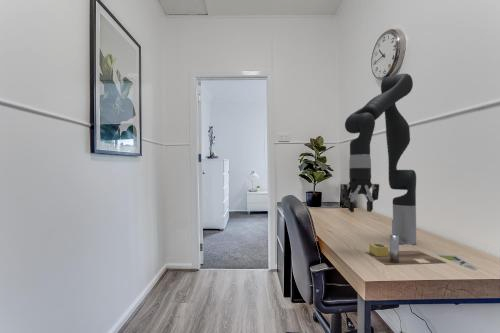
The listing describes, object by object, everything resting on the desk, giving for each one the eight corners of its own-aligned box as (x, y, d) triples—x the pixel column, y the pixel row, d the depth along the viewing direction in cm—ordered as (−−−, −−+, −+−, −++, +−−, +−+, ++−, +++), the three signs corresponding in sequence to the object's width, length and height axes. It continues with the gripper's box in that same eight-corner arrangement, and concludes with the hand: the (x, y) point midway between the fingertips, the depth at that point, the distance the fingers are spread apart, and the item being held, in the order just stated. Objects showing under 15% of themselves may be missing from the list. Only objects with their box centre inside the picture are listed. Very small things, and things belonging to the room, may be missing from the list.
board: (364, 256, 103) (364, 252, 103) (418, 254, 105) (418, 250, 105) (385, 269, 89) (385, 265, 89) (447, 267, 91) (447, 262, 91)
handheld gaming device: (449, 266, 90) (429, 253, 105) (449, 268, 90) (429, 255, 105) (479, 268, 89) (455, 254, 103) (479, 270, 89) (455, 256, 103)
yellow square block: (369, 252, 103) (369, 242, 103) (380, 251, 103) (380, 242, 103) (376, 256, 98) (376, 246, 98) (388, 255, 98) (388, 246, 98)
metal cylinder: (388, 260, 94) (387, 234, 94) (395, 260, 94) (395, 234, 94) (393, 263, 91) (392, 236, 91) (400, 262, 91) (400, 236, 91)
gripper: (373, 167, 104) (373, 210, 104) (337, 167, 103) (337, 210, 103) (384, 166, 97) (384, 213, 97) (345, 166, 96) (346, 213, 96)
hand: (360, 211), depth 100 cm, fingers open, 6 cm apart
